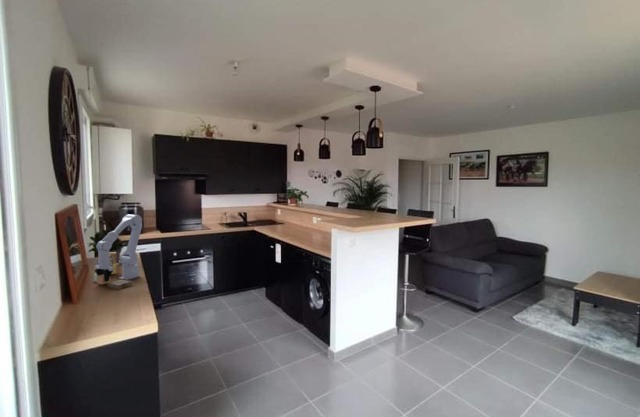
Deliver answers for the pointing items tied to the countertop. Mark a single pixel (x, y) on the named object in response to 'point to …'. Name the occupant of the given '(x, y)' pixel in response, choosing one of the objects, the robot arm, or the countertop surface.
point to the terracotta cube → (101, 279)
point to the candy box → (112, 261)
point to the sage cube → (95, 277)
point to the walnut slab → (119, 284)
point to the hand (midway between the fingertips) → (103, 280)
